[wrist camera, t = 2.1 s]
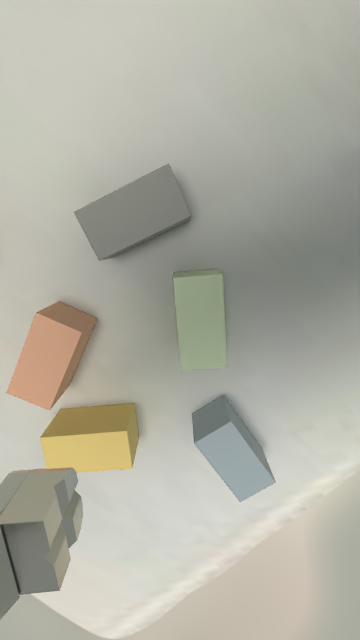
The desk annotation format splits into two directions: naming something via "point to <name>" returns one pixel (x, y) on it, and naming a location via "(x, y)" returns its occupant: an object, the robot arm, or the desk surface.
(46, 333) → the terracotta brick
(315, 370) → the desk surface
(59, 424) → the ochre brick
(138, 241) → the charcoal brick
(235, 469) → the slate brick
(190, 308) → the sage brick
